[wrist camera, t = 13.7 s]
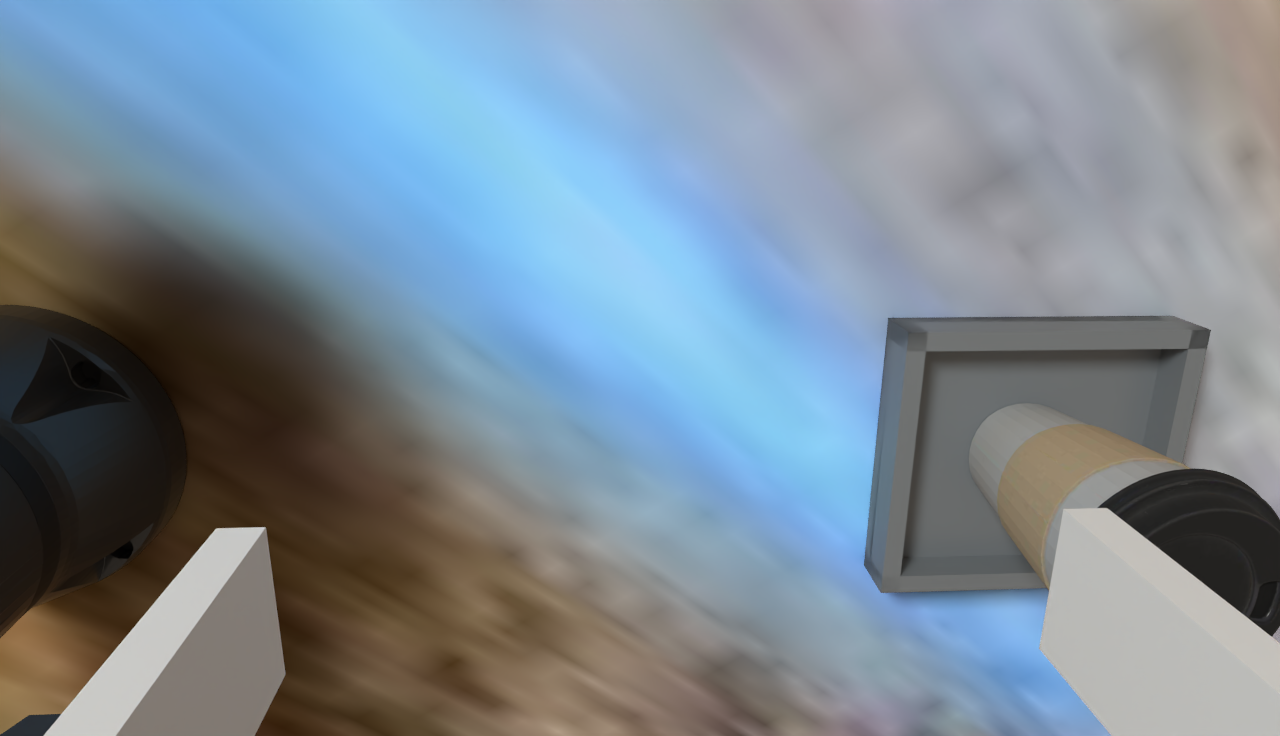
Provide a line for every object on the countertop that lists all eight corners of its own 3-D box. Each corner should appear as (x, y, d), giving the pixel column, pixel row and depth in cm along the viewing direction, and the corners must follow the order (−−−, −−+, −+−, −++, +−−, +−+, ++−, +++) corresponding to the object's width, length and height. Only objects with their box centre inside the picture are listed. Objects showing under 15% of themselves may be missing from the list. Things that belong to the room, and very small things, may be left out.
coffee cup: (1115, 489, 50) (1332, 649, 35) (959, 550, 50) (1111, 732, 36) (1077, 343, 47) (1297, 453, 32) (913, 409, 47) (1058, 546, 33)
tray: (863, 565, 51) (880, 592, 48) (888, 318, 47) (908, 332, 44) (1124, 557, 52) (1156, 584, 49) (1172, 315, 48) (1210, 330, 45)
